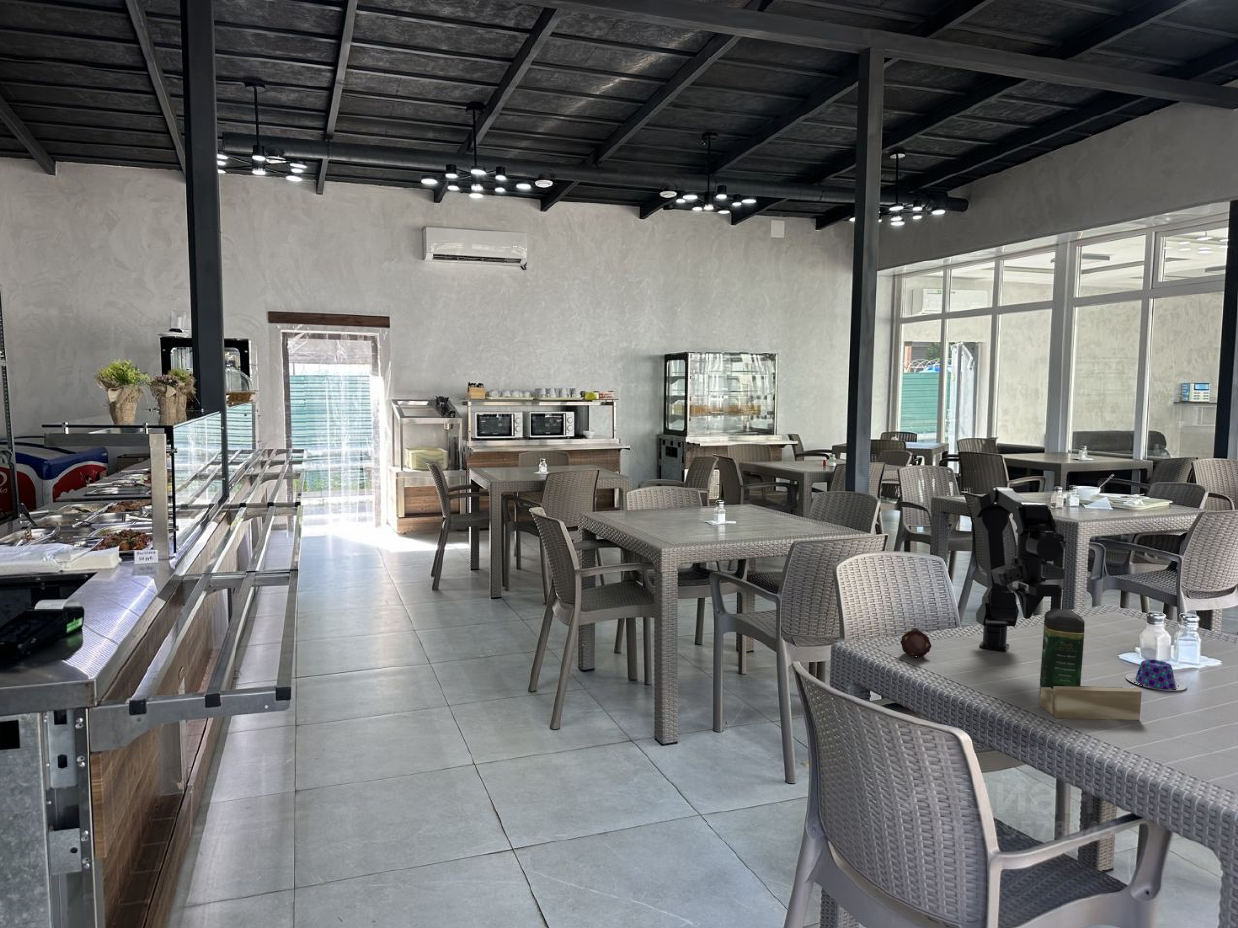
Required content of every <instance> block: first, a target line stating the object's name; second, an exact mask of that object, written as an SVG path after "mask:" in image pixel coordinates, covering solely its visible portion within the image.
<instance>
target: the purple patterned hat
mask: <svg viewBox="0 0 1238 928" xmlns="http://www.w3.org/2000/svg"><path fill="white" fill-rule="evenodd" d="M1134 676H1136V678H1135V679H1136V680H1138V681H1136V682H1138V684H1137V683H1134V682H1133V681H1131V680H1130V679H1129V678H1133V677H1134ZM1125 679H1126V680H1128V681H1129V682H1131V683H1133V684H1135V685H1138V686H1141V687H1144V688H1148V689H1152V690H1153V689H1154V690H1156V689H1157V690H1160V691H1164V690H1165V689H1166V691H1167V692H1168V691H1169V692H1171V691H1172V692H1175V691H1176V692H1177V691H1183V690H1186V688H1187V685H1186V684H1185V683H1184V682H1182V681H1180V680H1178V679H1176V678H1175V676H1174V671H1173V667H1172V665H1171V664H1170V663H1168V662H1166V661H1164V660H1159V659H1148V658H1147V659H1144V660H1142V661H1141V662H1140V665H1139V667H1138V669H1137V672H1130V673H1127V674H1126V675H1125ZM1135 679H1134V680H1135ZM1175 681H1176V683H1177V684H1178V685H1179V688H1178V689H1176V688H1177V686H1176V684H1175ZM1139 683H1140V684H1145V685H1143V686H1142V685H1139ZM1147 686H1149V687H1147ZM1173 688H1175V689H1176V690H1172V689H1173Z"/></svg>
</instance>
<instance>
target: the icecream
mask: <svg viewBox="0 0 1238 928" xmlns="http://www.w3.org/2000/svg"><path fill="white" fill-rule="evenodd" d="M900 644H901V649H902V651H903V652H904V653H905V654H907V655H908V656H909V657H911V656H917V657H916V658H923V657H925V656H926V654H929V652H930V651H931V648H932V644H931V641H930V638H929V636H928V635H927V634H925V633H924V632H922V631H921V630H919V629H918V628H916V627H914V628H912V629H911V630H909V631H907V632H906V633H904V634H903V635H902V637H901V639H900Z"/></svg>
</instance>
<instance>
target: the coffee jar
mask: <svg viewBox="0 0 1238 928" xmlns="http://www.w3.org/2000/svg"><path fill="white" fill-rule="evenodd" d="M1043 617H1044V620H1043V635H1042V646H1041V647H1042V650H1041V662H1040V663H1041V664H1040V674H1039V675H1040V676H1039V687H1040V688H1041V687H1050V688H1052V689H1053V686H1062V687H1064V686H1082V684H1081V683H1082V669H1083V668H1082V667H1083V658H1084V645H1085V642H1084V641H1085V622H1086V621H1085V620H1084V619H1083V617H1082V616H1080V615H1079V614H1077V613H1075V612H1074V611H1073V610H1072V609H1064V608H1063V609H1062V608H1054V607H1053V608H1052V609H1050V610H1048V611H1046V612H1045V613H1044V615H1043Z"/></svg>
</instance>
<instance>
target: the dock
mask: <svg viewBox="0 0 1238 928" xmlns="http://www.w3.org/2000/svg"><path fill="white" fill-rule="evenodd" d="M1039 699H1040V700H1039V706H1040V707H1041V708H1043V709H1044V710H1045V711H1047V712H1048V713H1050V715H1052V716H1053V717H1054V718H1055V719H1075V720H1076V719H1077V720H1078V719H1082V720H1083V719H1084V720H1087V719H1089V720H1121V721H1123V720H1126V721H1127V720H1128V721H1131V720H1132V721H1140V718H1141V707H1142V706H1141V704H1142V691H1141V690H1139V689H1138V688H1136V687H1123V686H1096V685H1095V686H1092V685H1091V686H1090V685H1089V686H1088V685H1087V686H1086V685H1081V686H1064V687H1062V686H1053V689H1052V688H1050V687H1040V698H1039Z"/></svg>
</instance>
